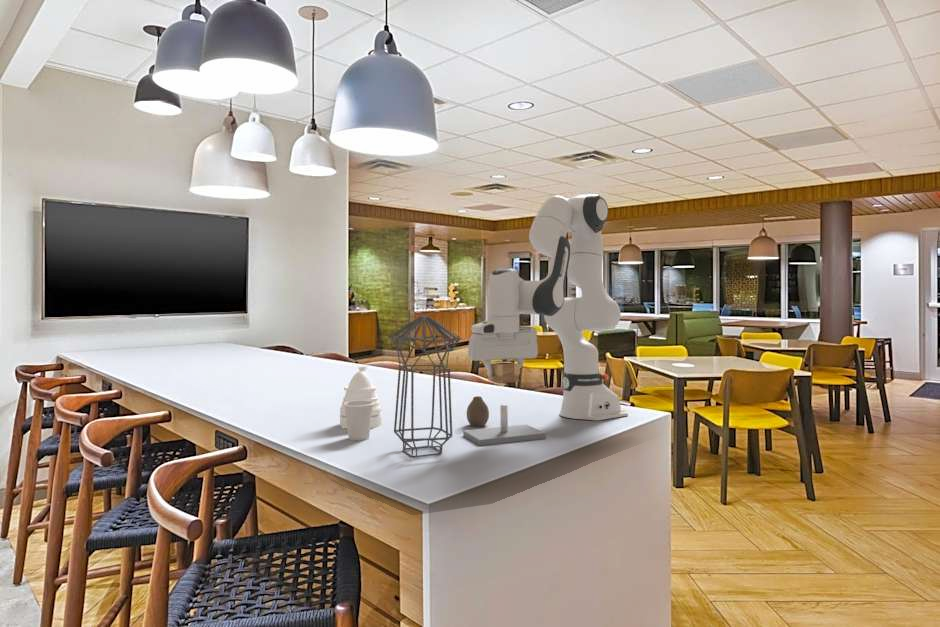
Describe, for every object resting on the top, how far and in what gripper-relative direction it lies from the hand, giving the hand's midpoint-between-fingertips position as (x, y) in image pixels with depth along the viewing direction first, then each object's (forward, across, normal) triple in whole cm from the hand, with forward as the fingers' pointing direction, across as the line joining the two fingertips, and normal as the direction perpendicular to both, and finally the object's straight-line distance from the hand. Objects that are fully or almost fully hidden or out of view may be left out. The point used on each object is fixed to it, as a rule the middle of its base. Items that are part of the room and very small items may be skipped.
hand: (503, 375), depth 167 cm
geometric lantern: (+18, +25, +6) cm, 31 cm away
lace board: (+17, 0, 0) cm, 17 cm away
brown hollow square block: (+2, 0, 0) cm, 2 cm away
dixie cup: (+18, +38, -15) cm, 44 cm away
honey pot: (+18, +34, -32) cm, 50 cm away
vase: (+18, +1, -17) cm, 25 cm away
